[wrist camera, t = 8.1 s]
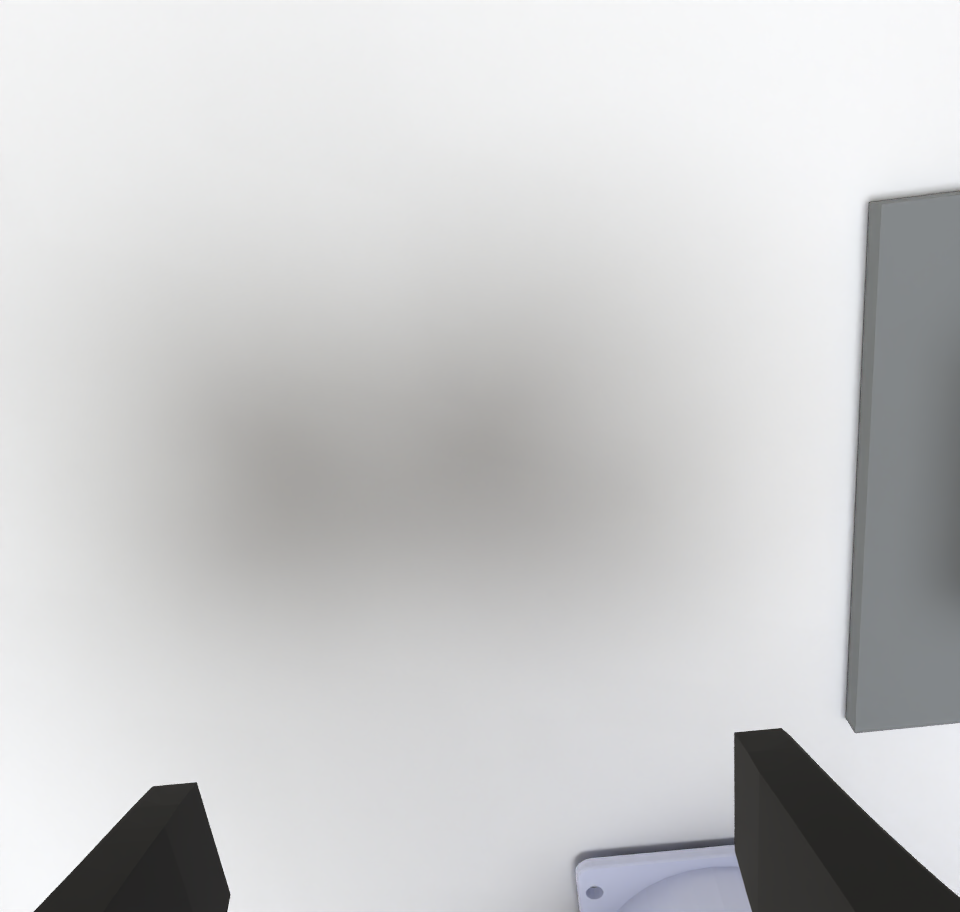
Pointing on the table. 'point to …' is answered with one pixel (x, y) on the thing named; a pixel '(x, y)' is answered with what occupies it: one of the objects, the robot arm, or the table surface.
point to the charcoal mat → (908, 472)
